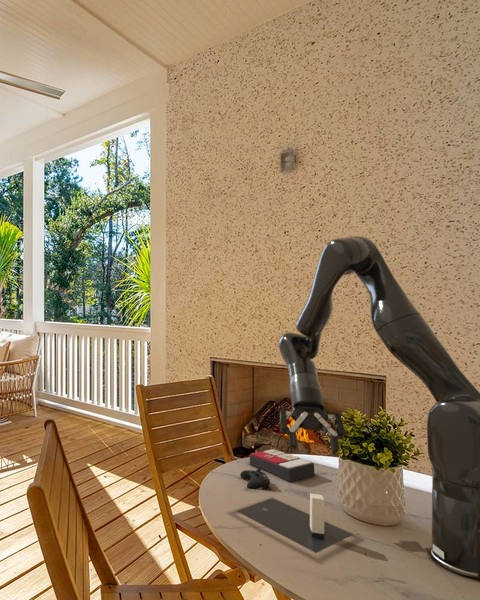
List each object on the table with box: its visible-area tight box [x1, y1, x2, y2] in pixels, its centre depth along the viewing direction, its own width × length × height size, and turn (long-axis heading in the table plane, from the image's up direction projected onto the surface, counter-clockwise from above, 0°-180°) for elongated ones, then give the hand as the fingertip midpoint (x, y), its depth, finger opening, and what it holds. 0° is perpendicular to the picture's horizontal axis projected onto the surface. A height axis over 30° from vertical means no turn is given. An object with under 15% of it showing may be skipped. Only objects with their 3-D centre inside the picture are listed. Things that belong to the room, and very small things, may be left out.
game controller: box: [239, 468, 271, 490], centre depth 123 cm, size 10×5×6 cm
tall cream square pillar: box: [309, 493, 325, 538], centre depth 95 cm, size 2×2×8 cm
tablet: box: [236, 497, 354, 554], centre depth 100 cm, size 22×16×1 cm
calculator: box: [249, 448, 315, 482], centre depth 133 cm, size 11×4×15 cm
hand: (314, 451), depth 104 cm, fingers open, 8 cm apart
